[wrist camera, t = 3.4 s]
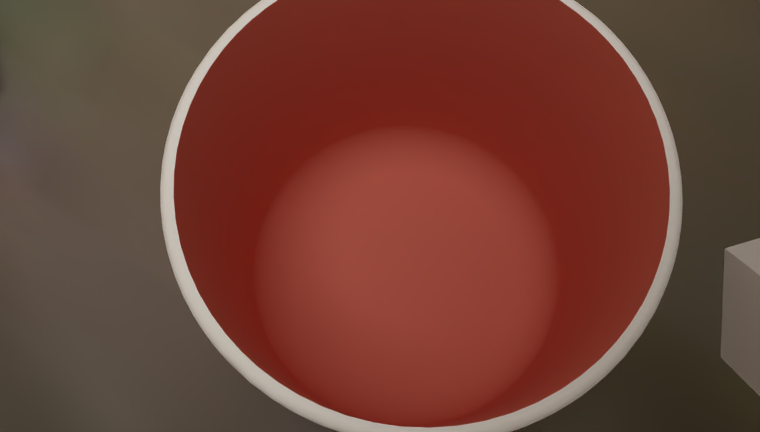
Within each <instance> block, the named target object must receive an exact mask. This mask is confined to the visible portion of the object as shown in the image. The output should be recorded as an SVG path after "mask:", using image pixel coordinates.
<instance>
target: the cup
mask: <svg viewBox="0 0 760 432" xmlns="http://www.w3.org/2000/svg"><path fill="white" fill-rule="evenodd" d="M160 200H161V217H162V226H163V233H164V238H165V243H166V248H167V253H168V256H169V259H170V263H171V266H172V269H173V272H174V275H175V278H176V280H177V283H178V285H179V287H180V290H181V292H182V295H183V297H184V299H185V301H186V303H187V305H188V306H189V308H190V310H191V312H192V314H193V316H194V317H195V319H196V321H197V322H198V324H199V325H200V327H201V328H202V330H203V331H204V333H205V334H206V336H207V337H208V338H209V340H210V341H211V342H212V344H213V345H214V346H215V347H216V349H217V350H218V351H219V352H220V353H221V354H222V355H223V357H224V358H225V359H226V360H227V361H228V362H229V363H230V364H231V365H232V366H233V367H234V368H235V369H236V370H237V371H238V372H239V373H240V374H241V375H242V376H244V377H245V378H246V379H247V380H248V381H249V382H250V383H251V384H253V385H254V386H255V387H257V388H258V389H259V390H261V391H262V392H263V393H264V394H266V395H267V396H268V397H270V398H271V399H273V400H274V401H276V402H278V403H279V404H281V405H283V406H284V407H286V408H287V409H289V410H291V411H292V412H294V413H296V414H298V415H300V416H302V417H304V418H306V419H308V420H311V421H313V422H315V423H317V424H319V425H322V426H324V427H327V428H330V429H333V430H335V431H338V432H512V431H515V430H518V429H521V428H523V427H526V426H528V425H530V424H533V423H535V422H537V421H540V420H542V419H544V418H546V417H548V416H550V415H552V414H554V413H555V412H557V411H559V410H561V409H562V408H564V407H566V406H567V405H569V404H570V403H572V402H573V401H575V400H576V399H578V398H579V397H581V396H582V395H584V394H585V393H586V392H588V391H589V390H590V389H591V388H592V387H594V386H595V385H596V384H597V383H598V382H600V381H601V380H602V379H603V378H604V377H605V376H606V375H607V374H608V373H609V372H610V371H611V370H612V369H613V368H614V367H615V366H616V365H617V364H618V363H619V362H620V361H621V360H622V359H623V358H624V357H625V356H626V354H627V353H628V352H629V350H630V349H631V348H632V346H633V345H634V344H635V343H636V341H637V340H638V339H639V337H640V336H641V335H642V333H643V331H644V330H645V328H646V326H647V325H648V323H649V321H650V320H651V318H652V316H653V315H654V313H655V311H656V309H657V307H658V305H659V303H660V300H661V298H662V296H663V294H664V291H665V289H666V287H667V285H668V282H669V279H670V275H671V272H672V269H673V266H674V263H675V258H676V254H677V250H678V246H679V239H680V232H681V224H682V205H683V198H682V179H681V172H680V165H679V158H678V154H677V149H676V145H675V141H674V137H673V134H672V131H671V128H670V125H669V122H668V119H667V116H666V114H665V111H664V109H663V107H662V105H661V102H660V100H659V98H658V96H657V94H656V92H655V90H654V88H653V86H652V85H651V83H650V81H649V79H648V77H647V76H646V74H645V73H644V71H643V70H642V68H641V67H640V65H639V64H638V62H637V61H636V59H635V58H634V57H633V56H632V54H631V53H630V52H629V50H628V49H627V48H626V47H625V45H624V44H623V43H622V42H621V41H620V40H619V39H618V38H617V36H616V35H615V34H614V33H613V32H612V31H611V30H610V29H609V28H608V27H607V26H606V25H605V24H604V23H603V22H601V21H600V20H599V19H598V18H597V17H596V16H595V15H593V14H592V13H591V12H589V11H588V10H587V9H585V8H584V7H583V6H581V5H580V4H579V3H577V2H576V1H575V0H261V1H260V2H258V3H257V4H256V5H254V6H253V7H252V8H251V9H249V10H248V11H247V12H245V13H244V14H243V15H242V16H241V17H240V18H239V19H238V20H237V21H236V22H235V23H234V24H233V25H231V26H230V27H229V28H228V29H227V30H226V31H225V33H224V34H223V35H222V36H221V37H220V38H219V40H218V41H217V42H216V43H215V44H214V45H213V46H212V48H211V49H210V50H209V52H208V53H207V55H206V56H205V57H204V59H203V60H202V62H201V63H200V64H199V66H198V67H197V69H196V70H195V72H194V74H193V76H192V77H191V79H190V81H189V83H188V84H187V86H186V88H185V91H184V93H183V95H182V97H181V99H180V101H179V103H178V106H177V109H176V111H175V114H174V117H173V120H172V122H171V126H170V129H169V133H168V137H167V140H166V145H165V150H164V156H163V162H162V171H161V184H160Z"/></svg>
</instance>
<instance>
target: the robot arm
mask: <svg viewBox="0 0 760 432" xmlns="http://www.w3.org/2000/svg"><path fill="white" fill-rule="evenodd" d="M721 358H722V359H723V360H724V361H725V362H726V363H727V364H728V365H729V366H730V367H731V368H732V369H733V370H734V371H735V372H736V373H737V374H738V375H739V376H740V377H741V378H742V379H743V380H744V381H745V382H746V383H747V384H748V385H749V386H750V387H751V388H752V389H753V390H754V391H755V392H756V393H757V394H758V395H759V396H760V238H758V239H755V240H751V241H748V242H745V243H741V244H738V245H735V246H731V247H728V248H725V256H724V282H723V307H722V332H721Z"/></svg>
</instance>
